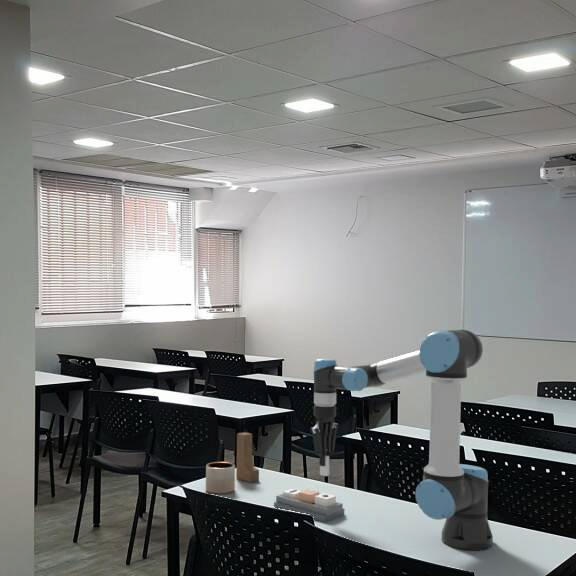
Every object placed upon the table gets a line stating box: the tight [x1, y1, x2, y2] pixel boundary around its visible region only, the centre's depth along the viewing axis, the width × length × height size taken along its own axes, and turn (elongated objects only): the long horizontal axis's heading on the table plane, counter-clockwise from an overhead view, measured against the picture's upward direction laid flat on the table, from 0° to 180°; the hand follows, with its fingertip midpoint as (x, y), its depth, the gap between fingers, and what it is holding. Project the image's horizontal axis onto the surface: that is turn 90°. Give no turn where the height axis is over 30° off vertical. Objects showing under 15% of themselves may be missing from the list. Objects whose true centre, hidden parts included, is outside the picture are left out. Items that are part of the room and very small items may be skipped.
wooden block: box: [235, 431, 260, 483], centre depth 286 cm, size 9×4×18 cm, turn 44°
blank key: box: [299, 489, 320, 504], centre depth 246 cm, size 5×5×3 cm
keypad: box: [273, 493, 345, 523], centre depth 246 cm, size 22×11×4 cm, turn 50°
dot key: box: [315, 492, 337, 508], centre depth 242 cm, size 5×5×3 cm
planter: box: [205, 461, 236, 495], centre depth 270 cm, size 11×11×10 cm
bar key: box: [282, 488, 302, 500], centre depth 251 cm, size 5×5×3 cm
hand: (324, 475), depth 242 cm, fingers closed
